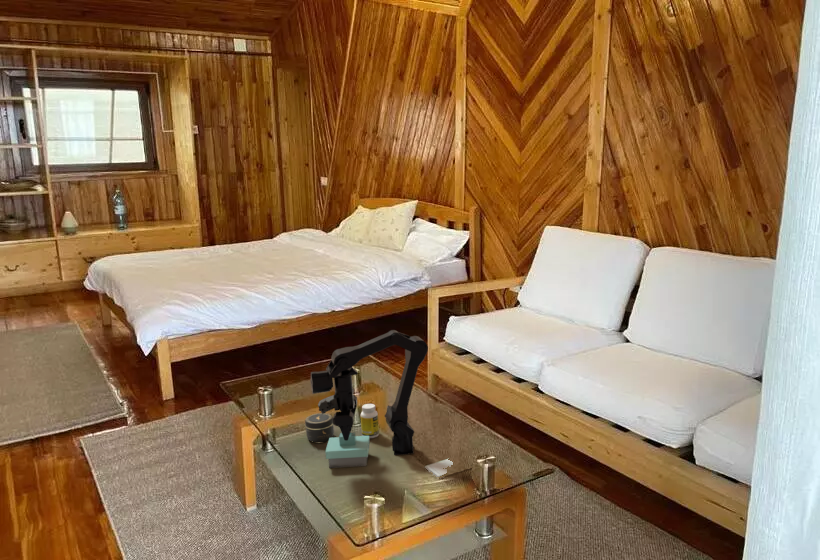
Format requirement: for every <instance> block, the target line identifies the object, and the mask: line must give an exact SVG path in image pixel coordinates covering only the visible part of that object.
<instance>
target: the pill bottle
mask: <svg viewBox="0 0 820 560" xmlns="http://www.w3.org/2000/svg"><path fill="white" fill-rule="evenodd" d="M361 409H362V411H361V413H360V427H361V436H369V439H374V438H377V437H378V436H379V435H380V427H379V414H378V411H377V410H376V405H375V404H374V403H365V404H363V405H362V406H361Z"/></svg>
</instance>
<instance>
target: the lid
mask: <svg viewBox="0 0 820 560" xmlns="http://www.w3.org/2000/svg"><path fill="white" fill-rule="evenodd" d="M370 441H371V438H369V436H362V435H356V432H350V435H349V438H348V440H347V441H345V440H344V438H343V435H342V432H340V433H339V436H338V437H334V436H333V437H332V438H329V441H327V443H326V444H327V445H326V448H325V459H326V460H329V459H334V458H352V457H368V458H369V451H370V443H371V442H370Z"/></svg>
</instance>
